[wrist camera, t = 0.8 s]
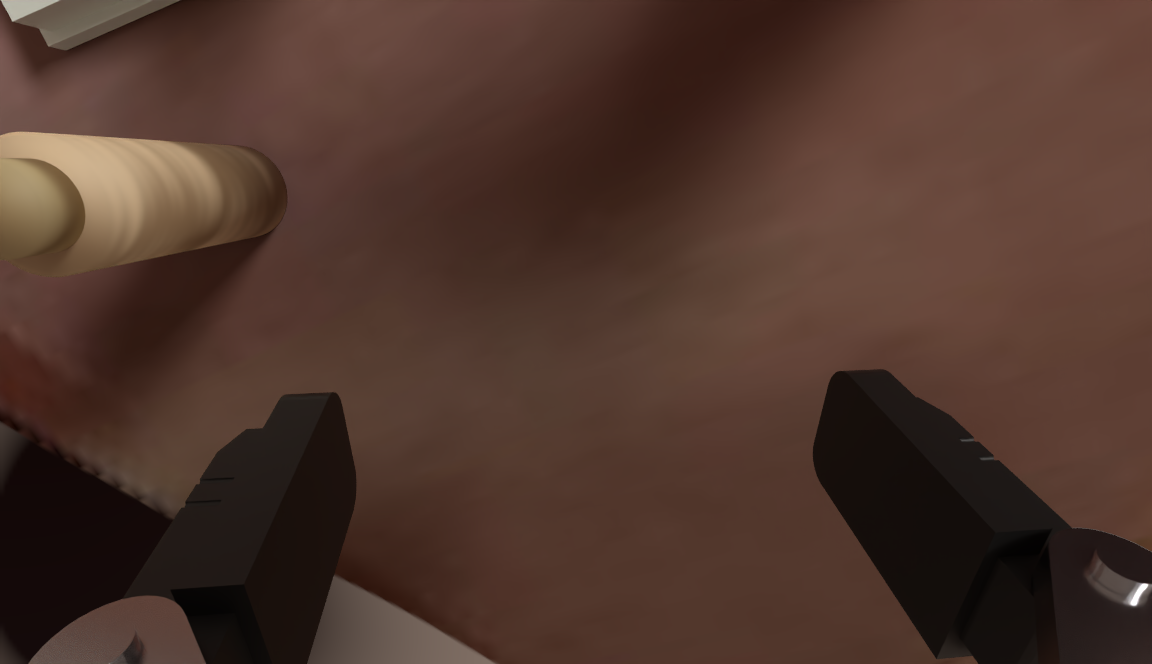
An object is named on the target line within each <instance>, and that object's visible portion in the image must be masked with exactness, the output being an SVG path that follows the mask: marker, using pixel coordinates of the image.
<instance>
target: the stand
mask: <svg viewBox="0 0 1152 664" xmlns="http://www.w3.org/2000/svg"><path fill="white" fill-rule="evenodd" d="M1 1H2V3H3V5H4V7H5V9H6V11H7V12H8V14H9V16H10V18H11V20H12V22H16V23H20V24H24V25H27V26H31V27H35V28H39V30H40V32H41V34H42V36H43V37H44V39H45V41H46V43H47V45H48V47H52V48H57V49H61V50H68V49H71V48H73V47H75V46H78V45H80V44H82V43H84V42H87V41H89V40H91V39H94V38H96V37H98V36H100V35H103V34H105V33H107V32H110V31H112V30H114V29H116V28H119V27H121V26H123V25H125V24H128V23H130V22H132V21H135V20H137V19H139V18H141V17H144V16H146V15H148V14H151V13H153V12H155V11H157V10H160V9H162V8H164V7H167V6H169V5H171V4H173V3H176V2H178V1H180V0H1Z"/></svg>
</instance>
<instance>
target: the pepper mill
mask: <svg viewBox="0 0 1152 664" xmlns="http://www.w3.org/2000/svg"><path fill="white" fill-rule="evenodd" d="M286 206H287V190H286V185H285V182H284V179H283V177H282V175H281V173H280V171H279V170H278V168H277V167H276V166H275V165H274V163H273V162H272V161H271V160H270V159H269V158H267V157H266V156H265V155H263V154H262V153H260V152H258V151H256V150H254V149H252V148H248V147H244V146H235V145H220V144H204V143H189V142H174V141H159V140H143V139H128V138H113V137H97V136H82V135H67V134H51V133H36V132H12V133H7V134H4V135H0V260H6V261H8V262H9V263H11V264H12V265H14V266H16V267H18V268H20V269H22V270H24V271H27V272H29V273H32V274H36V275H40V276H46V277H63V276H69V275H74V274H79V273H84V272H89V271H93V270H98V269H103V268H108V267H113V266H118V265H123V264H127V263H132V262H137V261H142V260H147V259H152V258H156V257H161V256H166V255H171V254H176V253H181V252H186V251H190V250H195V249H200V248H205V247H210V246H215V245H219V244H224V243H229V242H234V241H239V240H244V239H249V238H253V237H258V236H262V235H264V234H267V233H268V232H270V231H272V230H273V229H274V228H275V227H276V226H277V225H278V224H279V223H280V221H281V220H282V218H283V216H284V214H285V210H286Z"/></svg>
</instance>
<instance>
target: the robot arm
mask: <svg viewBox="0 0 1152 664" xmlns="http://www.w3.org/2000/svg"><path fill="white" fill-rule="evenodd" d="M993 456H994V455H993V454H991V453H990V452H989V451H988V450H987V449H986V448H985V447H984V446H983V445H982V444H981V443H980V442H974V437H973V436H972V435H971V434H970V433H969V432H968V431H967V430H965V429H964V428H963V427H962V426H961V425H960V424H959V423H958V422H957V421H956V420H955V419H954V418H952V417H951V416H950V415H949V414H947V413H945V412H943V411H941V410H940V409H938V408H936V407H934V406H933V405H931V404H929V403H927V402H925V401H924V400H922V399H920V398H918V397H917V398H916V397H915V396H914V395H913V394H912V393H911V392H910V391H909V390H908V389H907V388H906V387H904V386H903V385H902V384H901V383H900V382H899V381H898V380H897V379H896V378H895V377H894V376H893V375H892V374H891V373H889V372H888V371H886V370H883V369H877V370H855V371H838V372H836V373H835V374H834V375H833V376H832V377H831V379H830V382H829V385H828V389H827V393H826V397H825V401H824V405H823V409H822V413H821V417H820V421H819V425H818V429H817V433H816V437H815V441H814V446H813V462H814V467H815V471H816V474H817V477H818V479H819V481H820V483H821V484H822V486H823V487H824V489H825V491H826V492H827V494H828V495H829V497H830V498H831V500H832V501H833V503H834V504H835V506H836V507H837V509H838V510H839V512H840V513H841V515H842V516H843V518H844V519H845V521H846V522H847V524H848V525H849V527H850V529H851V530H852V532H853V533H854V535H855V536H856V538H857V539H858V541H859V542H860V544H861V545H862V547H863V548H864V550H865V551H866V553H867V554H868V556H869V557H870V559H871V560H872V562H873V563H874V565H875V566H876V568H877V570H878V571H879V573H880V574H881V576H882V577H883V579H884V580H885V582H886V583H887V585H888V586H889V588H890V589H891V591H892V592H893V594H894V595H895V597H896V598H897V600H898V601H899V603H900V604H901V606H902V608H903V609H904V611H905V612H906V614H907V615H908V617H909V618H910V620H911V621H912V623H913V624H914V626H915V627H916V629H917V630H918V632H919V633H920V635H921V636H922V638H923V639H924V641H925V642H926V644H927V645H928V647H929V649H930V650H931V652H932V653H933V655H934V656H935V658H936V659H943V658H954V657H964V656H973V657H974V658H975V660H976V661H977V662H978V664H1152V552H1151V551H1149V550H1147V549H1145V548H1143V547H1141V546H1140V545H1138V544H1135V543H1133V542H1131V541H1129V540H1126V539H1124V538H1121V537H1119V536H1116V535H1113V534H1110V533H1106V532H1103V531H1098V530H1093V529H1086V528H1072V527H1071V526H1069V525H1068V524H1067V523H1066V522H1065V521H1064V520H1063V519H1062V518H1061V517H1060V516H1059V515H1058V514H1056V513H1055V512H1054V511H1053V510H1052V509H1051V508H1050V507H1049V506H1048V505H1047V504H1046V503H1045V502H1043V501H1042V500H1041V499H1040V498H1039V497H1038V496H1037V495H1036V494H1035V493H1034V492H1033V491H1032V490H1030V489H1029V488H1028V487H1027V486H1026V485H1025V484H1024V483H1023V482H1022V481H1021V480H1020V479H1019V478H1017V477H1016V476H1015V475H1014V474H1013V473H1012V472H1011V471H1010V470H1009V469H1008V468H1007V467H1006V466H1004V465H1003V464H1002V463H1001V462H1000V461H999V460H994V458H993ZM355 499H356V471H355V466H354V461H353V456H352V451H351V446H350V441H349V437H348V432H347V427H346V422H345V417H344V412H343V407H342V403H341V400H340V398H339V396H338V394H337V393H334V392H332V393H309V394H287V395H283V396H282V397H281V398H280V400H279V401H278V403H277V405H276V406H275V408H274V410H273V412H272V413H271V415H270V417H269V419H268V420H267V422H266V424H265V426H264V427H263V428H260V429H246V430H245V431H244V432H242V433H241V434H240V435H239V436H237V437H236V438H235V439H234V440H232V441H231V442H230V443H228V444H227V445H226V446H225V447H223V448H222V449H221V450H220V451H218V452H217V454H216V455H215V457H214V458H213V460H212V461H211V463H210V464H209V466H208V468H207V469H206V471H205V472H204V474H203V475H202V477H201V478H200V484H197V485H196V486H195V488H194V489H193V491H192V492H191V494H190V495H189V497H188V498H187V500H186V502H185V503H186V505H185V508H181V509H180V511H179V512H178V514H177V515H176V517H175V519H174V520H173V522H172V523H171V525H170V526H169V528H168V529H167V531H166V532H165V534H164V536H163V537H162V539H161V540H160V542H159V543H158V545H157V547H156V548H155V549H154V551H153V552H152V554H151V556H150V557H149V559H148V560H147V562H146V563H145V565H144V567H143V568H142V570H141V571H140V573H139V574H138V576H137V577H136V579H135V580H134V582H133V583H132V585H131V587H130V588H129V590H128V591H127V593H126V594H125V596H124V597H123V599H122V600H119V601H116V602H113V603H110V604H107V605H104V606H102V607H100V608H98V609H95V610H94V611H91V612H89V613H88V614H86V615H84V616H82V617H81V618H79V619H77V620H76V621H74V622H72V623H71V624H70V625H68V626H66V627H65V628H64V629H62V630H61V631H60V632H59V633H57V634H56V635H55V636H54V637H53V638H51V640H49V641H48V642H47V643H46V644H45V645H44V646H43V647H42V648H41V649H40V650H39V651H38V652H37V654H36V655H35V656H34V657H33V658H32V659H31V661H30V662H29V664H307V661H308V658H309V655H310V652H311V648H312V645H313V642H314V638H315V635H316V632H317V629H318V625H319V622H320V619H321V615H322V612H323V609H324V606H325V602H326V599H327V596H328V592H329V589H330V585H331V582H332V579H333V576H334V573H335V569H336V566H337V563H338V559H339V556H340V553H341V549H342V546H343V543H344V540H345V536H346V533H347V530H348V526H349V523H350V520H351V517H352V513H353V510H354V505H355Z"/></svg>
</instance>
